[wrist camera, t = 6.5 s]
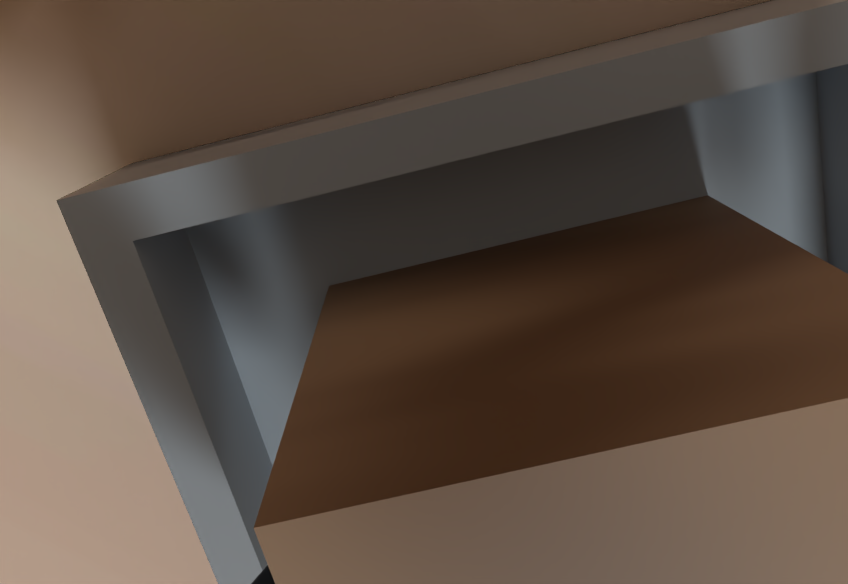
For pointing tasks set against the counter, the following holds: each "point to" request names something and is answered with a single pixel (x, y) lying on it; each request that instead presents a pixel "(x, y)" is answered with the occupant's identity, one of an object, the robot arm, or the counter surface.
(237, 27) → the counter surface
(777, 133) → the tray
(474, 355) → the block
